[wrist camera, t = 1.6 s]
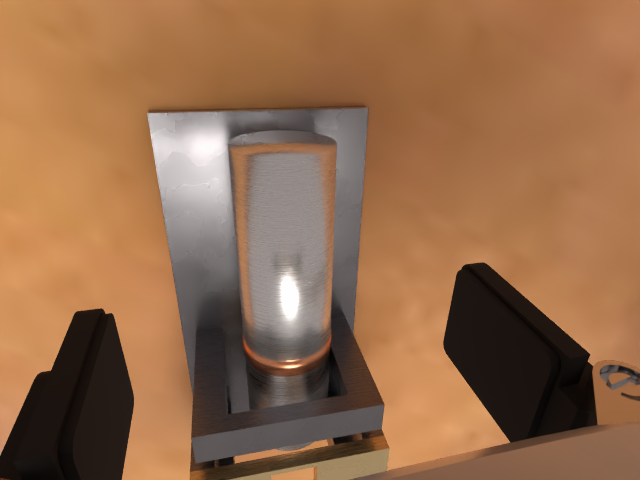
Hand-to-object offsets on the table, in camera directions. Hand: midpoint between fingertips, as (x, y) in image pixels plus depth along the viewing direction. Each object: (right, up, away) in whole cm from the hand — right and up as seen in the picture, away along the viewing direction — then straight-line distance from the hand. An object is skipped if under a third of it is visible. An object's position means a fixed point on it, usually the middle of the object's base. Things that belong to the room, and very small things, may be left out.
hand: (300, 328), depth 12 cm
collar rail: (-3, -2, +16) cm, 16 cm away
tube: (-2, 0, +14) cm, 14 cm away
